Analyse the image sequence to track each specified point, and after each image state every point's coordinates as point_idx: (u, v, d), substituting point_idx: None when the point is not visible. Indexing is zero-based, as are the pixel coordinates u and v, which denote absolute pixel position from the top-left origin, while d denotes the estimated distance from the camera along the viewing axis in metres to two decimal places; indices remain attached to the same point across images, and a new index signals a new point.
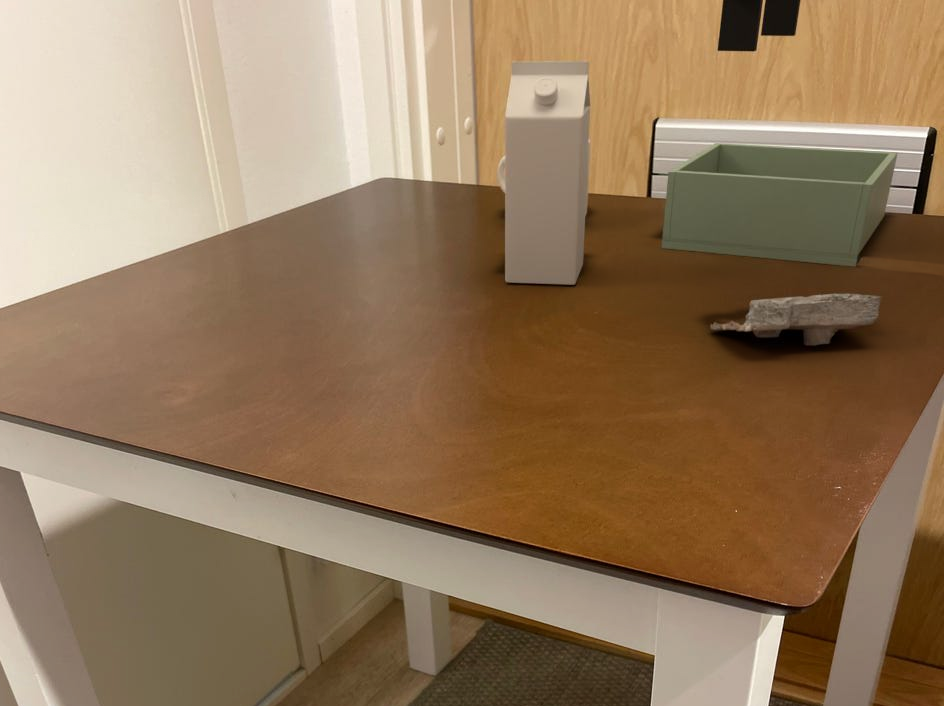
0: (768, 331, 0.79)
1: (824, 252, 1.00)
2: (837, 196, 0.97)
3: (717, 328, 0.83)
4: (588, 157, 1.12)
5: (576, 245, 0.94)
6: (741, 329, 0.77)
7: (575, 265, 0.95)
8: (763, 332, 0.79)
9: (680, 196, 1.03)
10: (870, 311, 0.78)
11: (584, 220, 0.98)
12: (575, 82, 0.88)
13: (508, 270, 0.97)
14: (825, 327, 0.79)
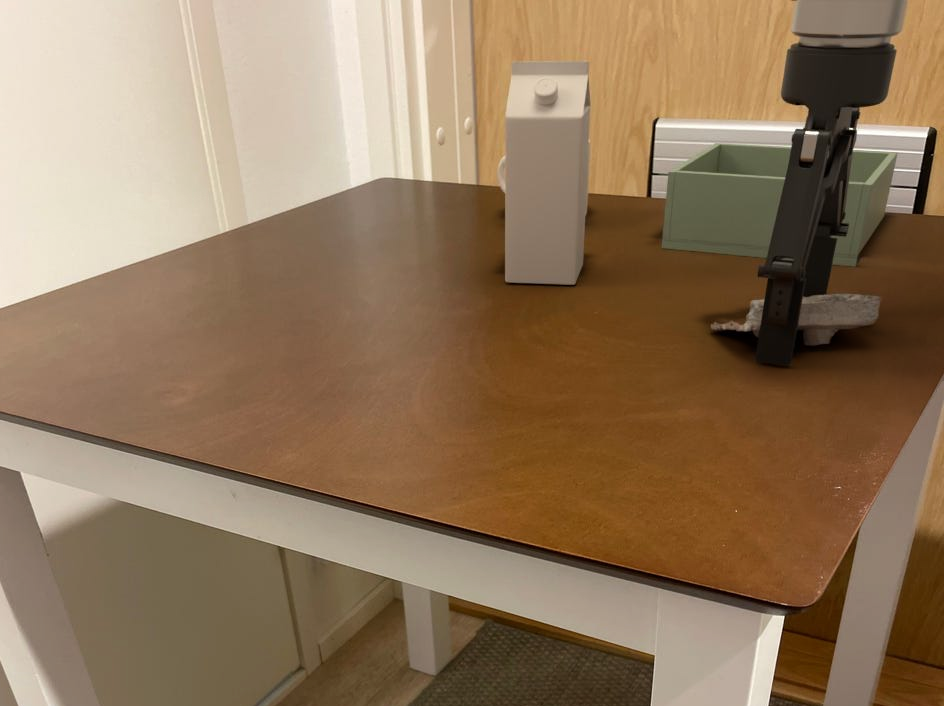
0: None
1: None
2: None
3: (717, 328, 0.83)
4: (588, 157, 1.12)
5: (576, 245, 0.94)
6: (741, 329, 0.78)
7: (575, 265, 0.95)
8: None
9: (680, 196, 1.03)
10: (870, 312, 0.78)
11: (584, 220, 0.98)
12: (575, 82, 0.88)
13: (508, 270, 0.97)
14: (825, 327, 0.79)
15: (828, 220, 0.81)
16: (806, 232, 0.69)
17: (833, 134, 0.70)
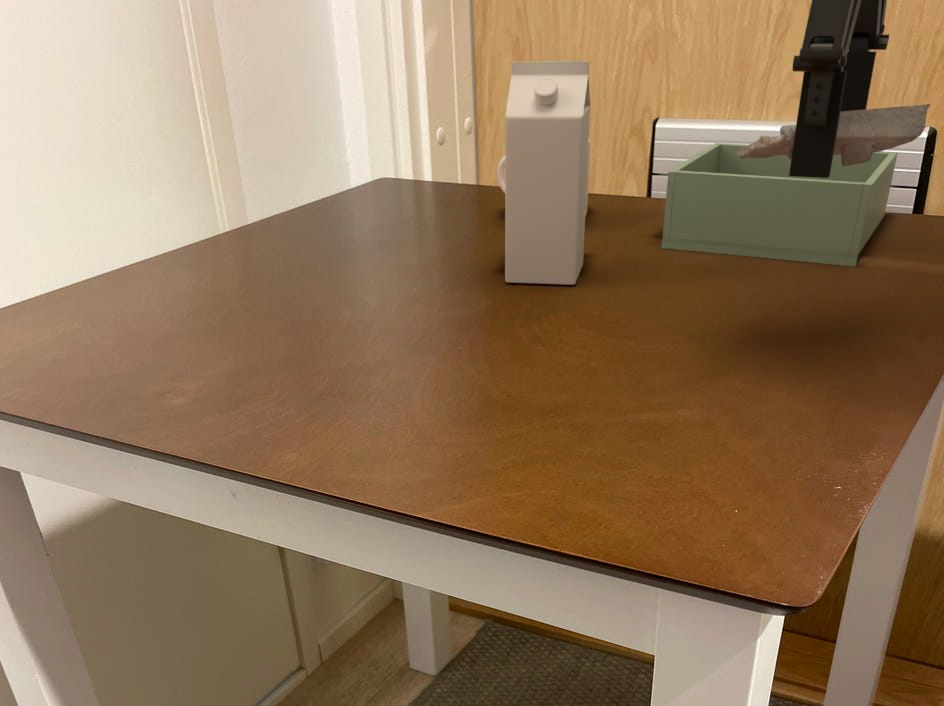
0: None
1: (824, 252, 1.00)
2: (837, 196, 0.97)
3: (745, 153, 0.75)
4: (588, 157, 1.12)
5: (576, 245, 0.94)
6: (773, 142, 0.70)
7: (575, 265, 0.95)
8: None
9: (680, 196, 1.03)
10: (916, 121, 0.70)
11: (584, 220, 0.98)
12: (575, 82, 0.88)
13: (508, 270, 0.97)
14: (866, 141, 0.71)
15: (866, 28, 0.74)
16: (848, 6, 0.61)
17: None
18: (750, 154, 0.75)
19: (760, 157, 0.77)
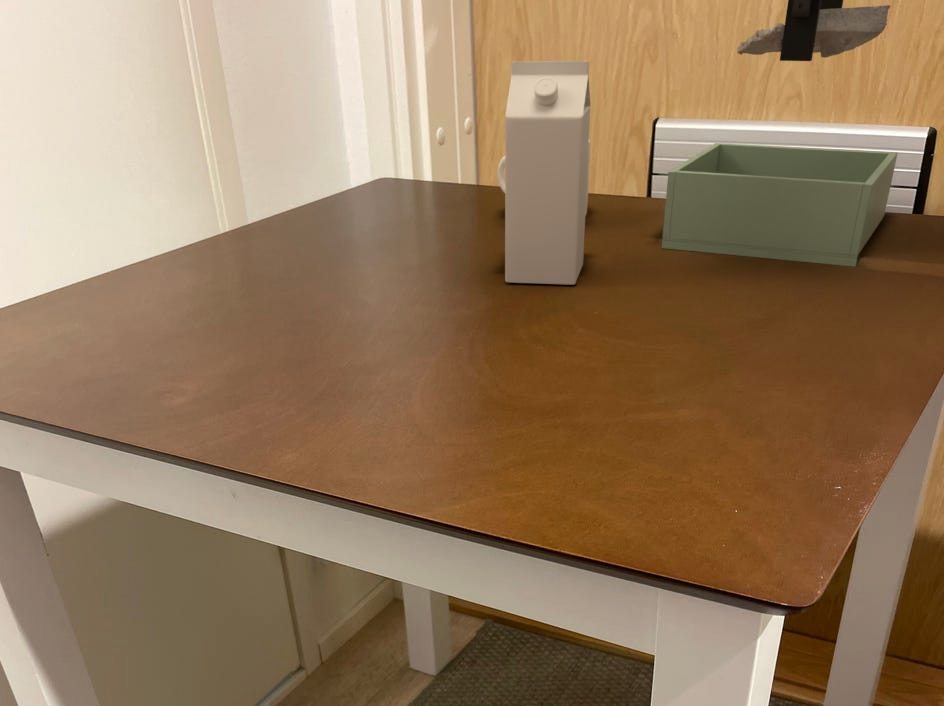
0: None
1: (824, 252, 1.00)
2: (837, 196, 0.97)
3: (743, 48, 0.93)
4: (588, 157, 1.12)
5: (576, 245, 0.94)
6: (766, 33, 0.88)
7: (575, 265, 0.95)
8: None
9: (680, 196, 1.03)
10: (879, 19, 0.89)
11: (584, 220, 0.98)
12: (575, 82, 0.88)
13: (508, 270, 0.97)
14: (840, 35, 0.89)
15: None
16: None
17: None
18: (747, 49, 0.93)
19: (755, 53, 0.95)
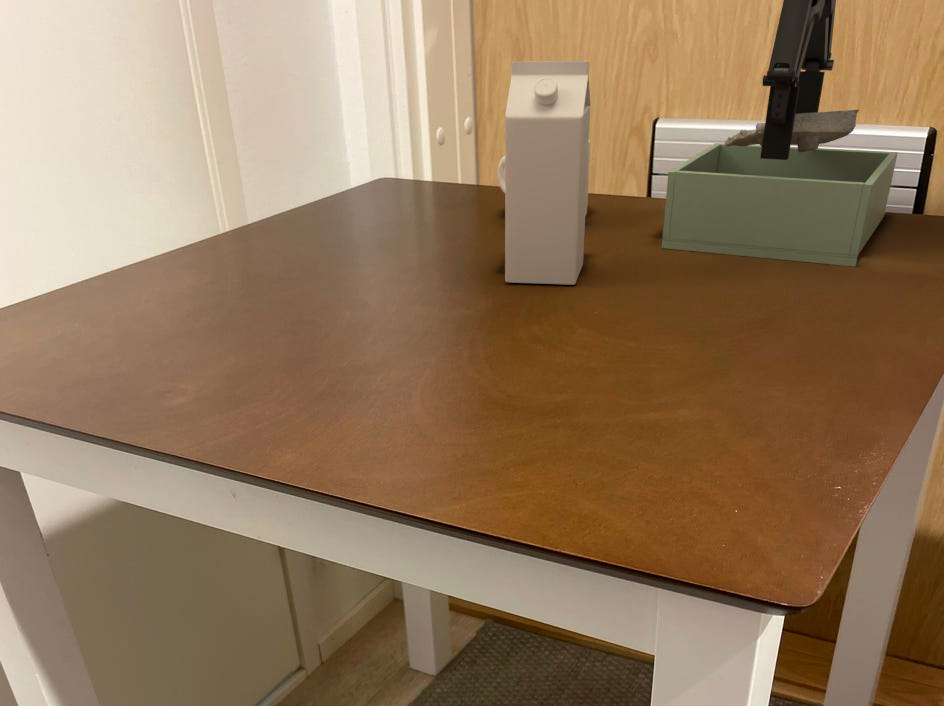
0: None
1: (824, 252, 1.00)
2: (837, 196, 0.97)
3: (730, 142, 1.05)
4: (588, 157, 1.12)
5: (576, 245, 0.94)
6: (749, 134, 1.00)
7: (575, 265, 0.95)
8: None
9: (680, 196, 1.03)
10: (849, 121, 1.01)
11: (584, 220, 0.98)
12: (575, 82, 0.88)
13: (508, 270, 0.97)
14: (814, 134, 1.01)
15: (817, 55, 1.04)
16: (799, 43, 0.92)
17: None
18: (734, 143, 1.05)
19: (741, 145, 1.07)
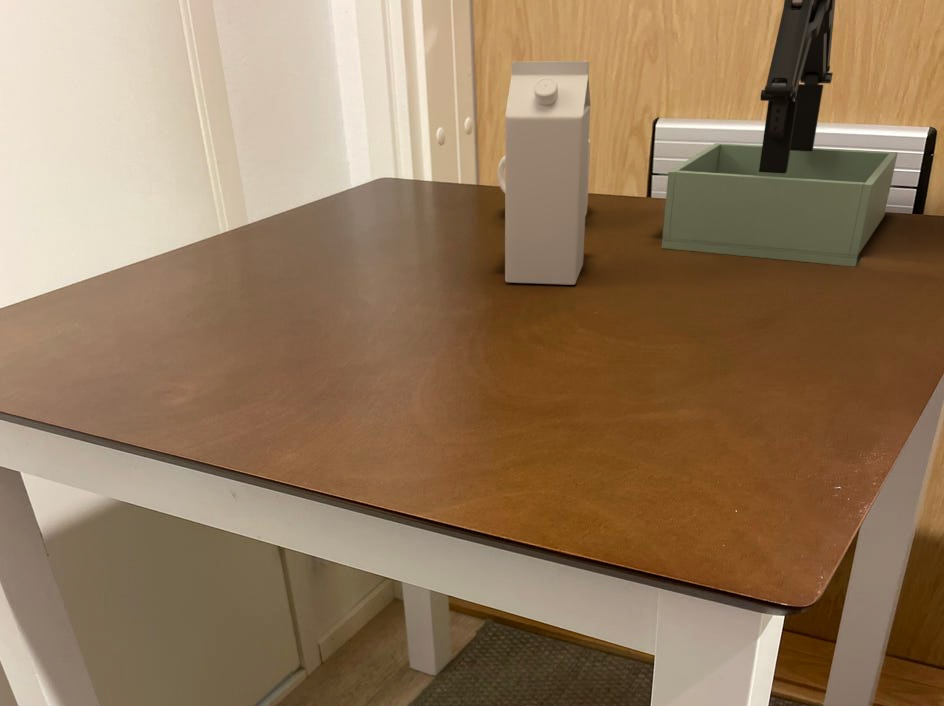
0: None
1: (824, 252, 1.00)
2: (837, 196, 0.97)
3: None
4: (588, 157, 1.12)
5: (576, 245, 0.94)
6: None
7: (575, 265, 0.95)
8: None
9: (680, 196, 1.03)
10: None
11: (584, 220, 0.98)
12: (575, 82, 0.88)
13: (508, 270, 0.97)
14: None
15: (816, 69, 1.05)
16: (797, 58, 0.92)
17: None
18: None
19: None
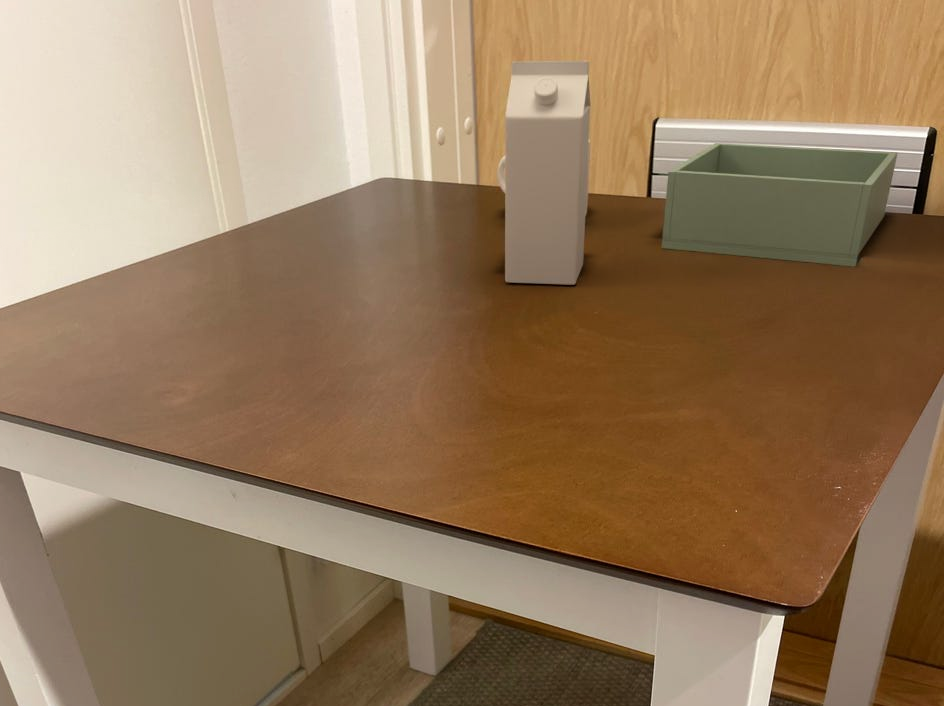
0: None
1: (824, 252, 1.00)
2: (837, 196, 0.97)
3: None
4: (588, 157, 1.12)
5: (576, 245, 0.94)
6: None
7: (575, 265, 0.95)
8: None
9: (680, 196, 1.03)
10: None
11: (584, 220, 0.98)
12: (575, 82, 0.88)
13: (508, 270, 0.97)
14: None
15: None
16: None
17: None
18: None
19: None
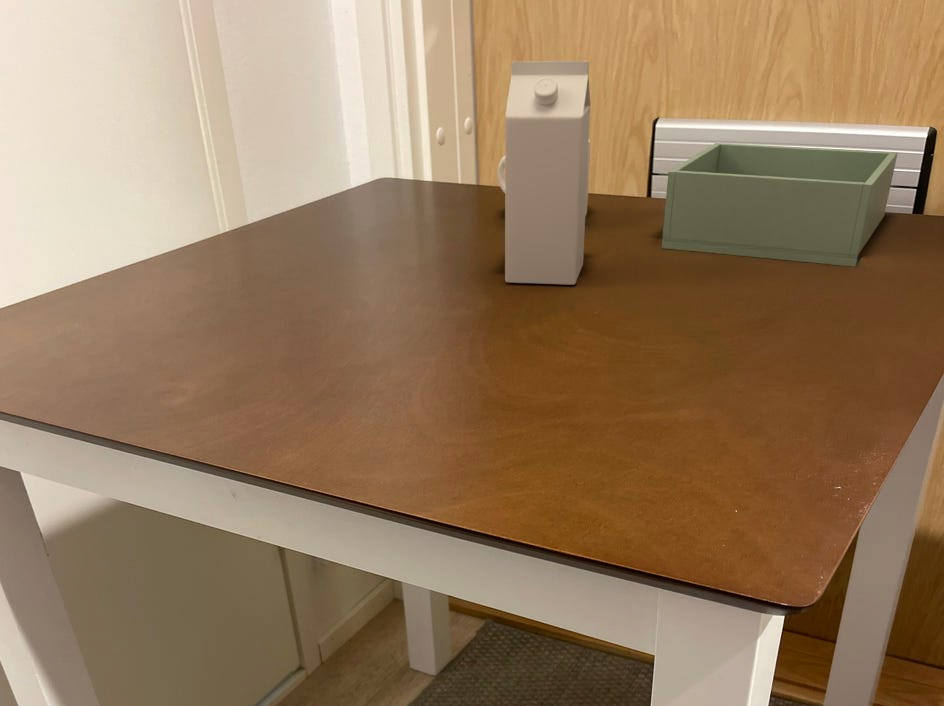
0: None
1: (824, 252, 1.00)
2: (837, 196, 0.97)
3: None
4: (588, 157, 1.12)
5: (576, 245, 0.94)
6: None
7: (575, 265, 0.95)
8: None
9: (680, 196, 1.03)
10: None
11: (584, 220, 0.98)
12: (575, 82, 0.88)
13: (508, 270, 0.97)
14: None
15: None
16: None
17: None
18: None
19: None
